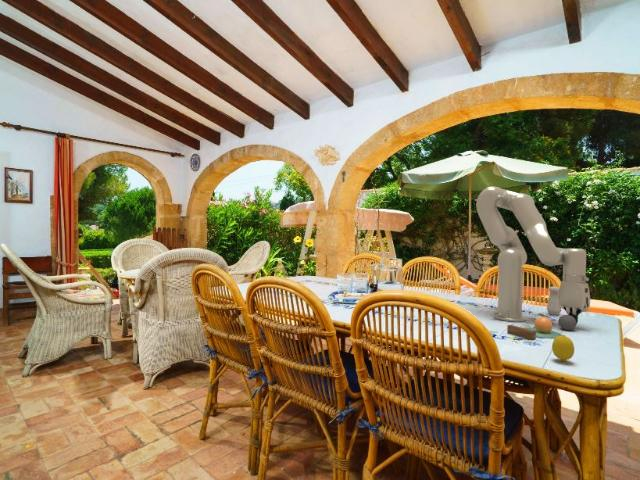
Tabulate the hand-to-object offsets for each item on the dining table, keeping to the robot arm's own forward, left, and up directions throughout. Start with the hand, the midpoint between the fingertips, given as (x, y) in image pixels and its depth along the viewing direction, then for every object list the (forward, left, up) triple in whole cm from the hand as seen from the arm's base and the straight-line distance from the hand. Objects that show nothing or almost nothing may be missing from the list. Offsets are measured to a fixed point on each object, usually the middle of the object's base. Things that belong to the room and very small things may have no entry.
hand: (572, 324), depth 149 cm
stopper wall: (-31, 0, -2) cm, 31 cm away
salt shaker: (+18, +19, -2) cm, 26 cm away
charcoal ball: (-5, -1, +2) cm, 6 cm away
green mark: (-20, 0, -2) cm, 20 cm away
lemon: (-44, -23, -2) cm, 50 cm away
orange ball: (-18, 0, +2) cm, 18 cm away
